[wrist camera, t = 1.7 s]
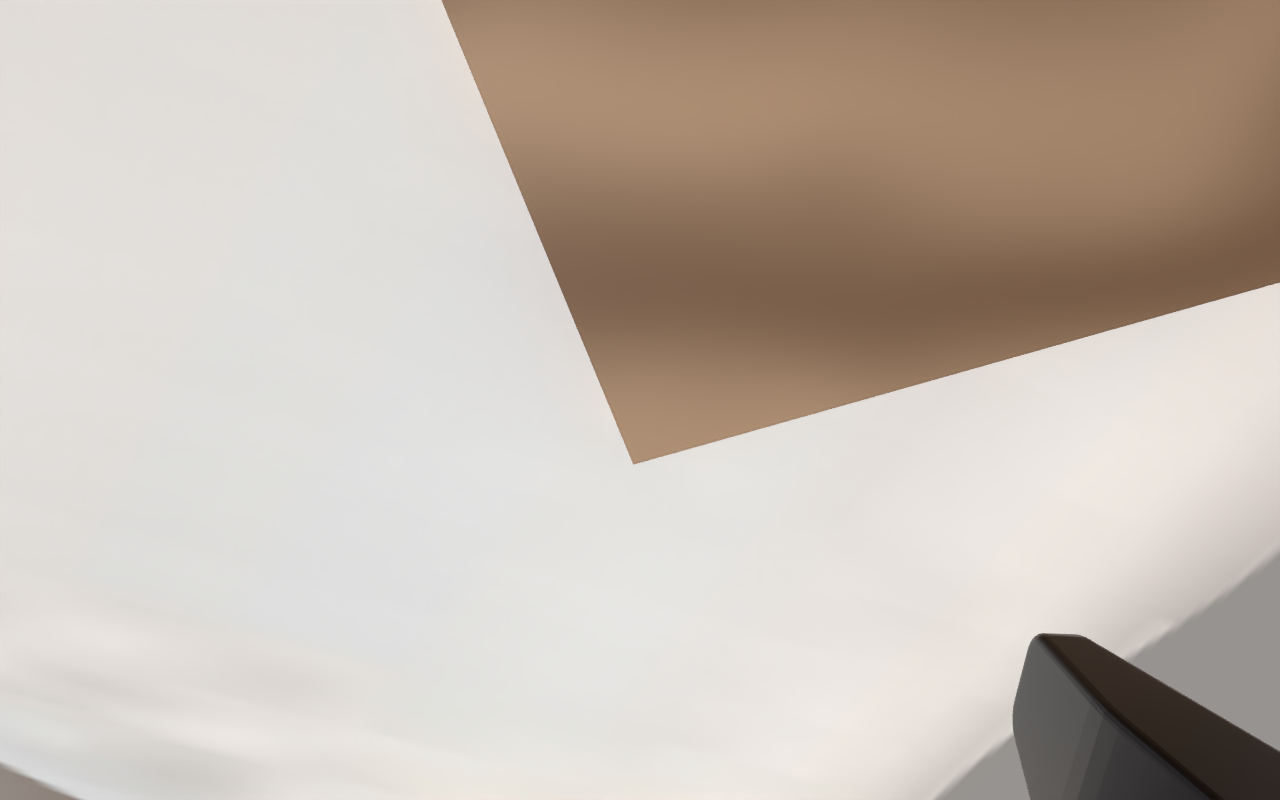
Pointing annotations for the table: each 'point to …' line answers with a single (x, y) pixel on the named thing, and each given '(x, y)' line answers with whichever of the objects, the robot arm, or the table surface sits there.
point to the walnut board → (874, 184)
